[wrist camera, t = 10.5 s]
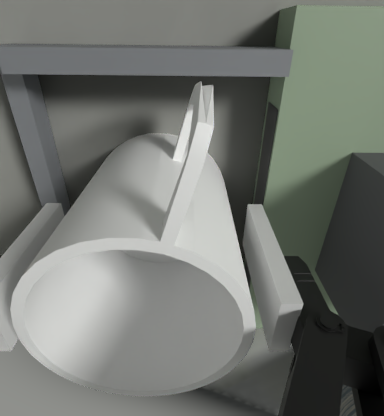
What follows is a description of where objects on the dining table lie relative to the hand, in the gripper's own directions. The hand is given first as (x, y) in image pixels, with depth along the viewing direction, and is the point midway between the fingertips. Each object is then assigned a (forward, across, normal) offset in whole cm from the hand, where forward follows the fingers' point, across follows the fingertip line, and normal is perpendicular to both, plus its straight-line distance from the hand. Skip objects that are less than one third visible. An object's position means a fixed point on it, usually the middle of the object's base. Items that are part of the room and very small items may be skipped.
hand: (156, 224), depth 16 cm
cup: (+3, +1, +2) cm, 4 cm away
